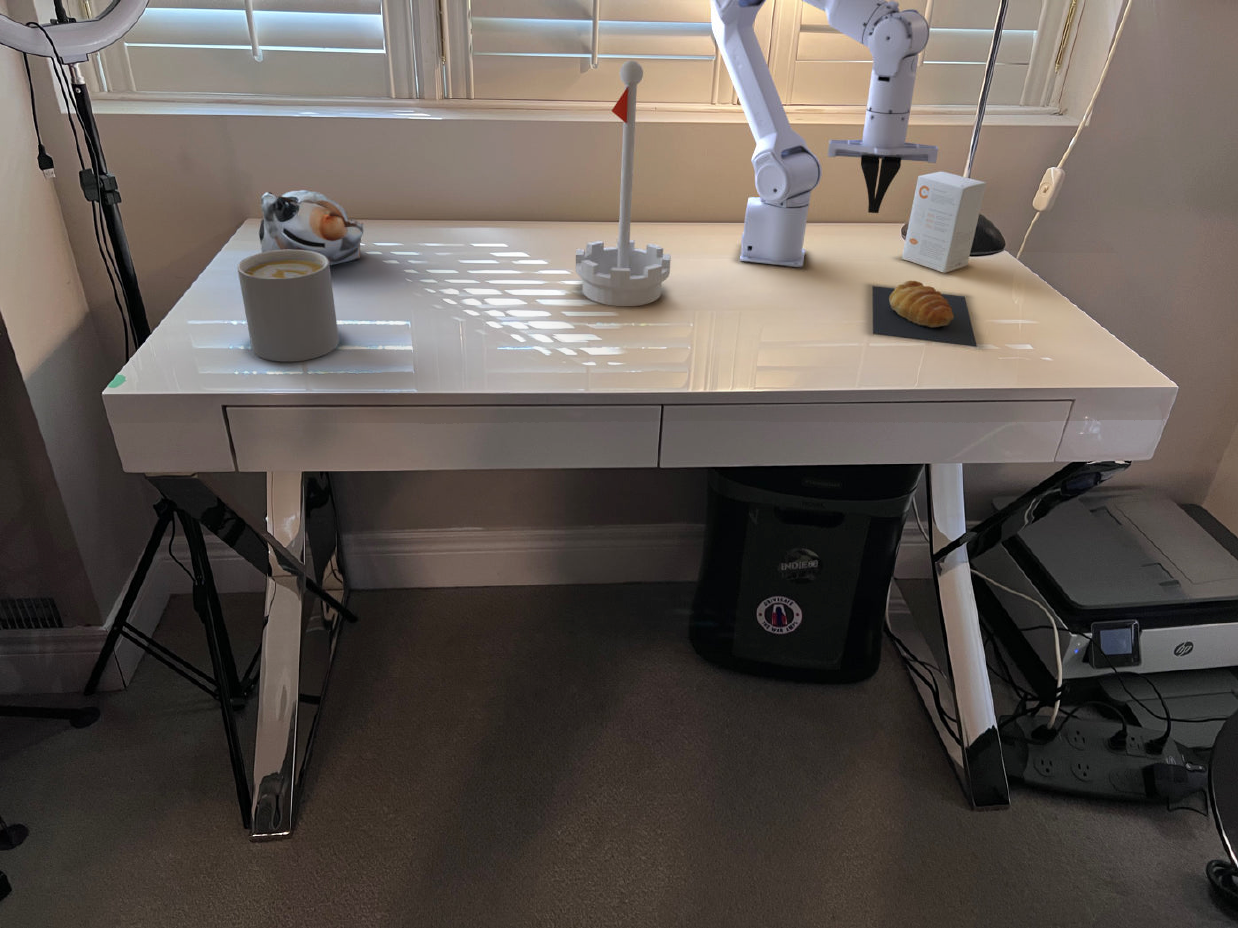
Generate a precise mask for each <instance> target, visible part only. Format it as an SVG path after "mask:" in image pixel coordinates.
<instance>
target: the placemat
mask: <svg viewBox="0 0 1238 928" xmlns="http://www.w3.org/2000/svg"><path fill="white" fill-rule="evenodd" d="M895 289H896V288H895V287H885V286H877V285H876V286H875V285H872V335H877V336H878V335H879V336H887V337H895V338H901V339H903V338H904V339H912V340H919V341H927V342H935V343H944V344H951V345H952V344H953V345H959V346H967V347H978V345H977V342H976V341H977V340H976V337H975V333H974V329H973V325H972V321H971V317H970V312H969V307H968V304H967V300H966V296H965V295H953V294H945V293H941V294H942V296H943V297H944V299H946V300H947V301H948V305H950V306H951V311H952V313H953V316H954V317H953V319H952V320H951V322H950V323H949V324H948V325H945V326H938V327H933V328H932V327H929V326H926V325H923V326H922V325H918V324H916V323H913V322H912V321H909V320H908V319H906V318H905V317H904V318H903V317H902V316H900V315H899V314H897V312H896V311H895V310H892V307H891V304H890V301H889V297H890V295H891V294H892V292H893V291H894V290H895Z"/></svg>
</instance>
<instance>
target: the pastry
mask: <svg viewBox="0 0 1238 928" xmlns="http://www.w3.org/2000/svg"><path fill="white" fill-rule="evenodd" d="M942 294H943V293H942V292H940V291H938V290H936V289H935V287H933V286H931V285H924V284H923V283H922V282H920V281H917V280H907V281H904V283H902V284H899V285H898V286H897V287H896V288H895V290H894V291H893V292H892V294H891V295H890V297H889V301H890V304H891V307H892V310H895V311H896V312H897V314H899V315H900V316H902V317H903V318H904V317H905V318H906V319H908V320H909V321H912V322H913V323H916V324H918V325H922V326H923V325H926V326H929V327H932V328H933V327H938V326H945V325H948V324H949V323H950V322H951V320H952V319H953V317H954V316H953V313H952V311H951V306H950V305H948V301H947V300H946V299H944V297H943V296H942Z"/></svg>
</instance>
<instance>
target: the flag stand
mask: <svg viewBox="0 0 1238 928" xmlns="http://www.w3.org/2000/svg"><path fill="white" fill-rule="evenodd" d="M619 78H620V80H621V82H622V83H623V84H624V91H623V93H622V94H621V96H620V97H619V98H618V100H617V102H616V103H615V105H614V106H613V107H612V109H611V112H612V113H613V114H614V115H615V116H616V117H618V118H619V119H620V120H621V121H622V122H623V123H622V147H621V166H620V167H621V171H620V173H621V174H620V193H619V196H620V197H619V221H618V238H617V239H616V246H606V247H605V246H604V244H605V242H603V241H602V240H595V241H594V240H593V241H590V242H587V243H586V244H585V249H583V248H576V251H575V273H576V275H578V277H580V278H581V279H582V293H583V295H584V296H585V297H586V298H587V299H590V300H591V301H593V302H596V303H599V304H603V305H606V306H607V305H608V306H613V307H614V306H615V307H636V306H643V305H648V304H650V303H654V302H655V301H657V300H658V299H659V298H660V296H661V295H662V283H663V282H665V281H666V280H667V279H668V278H669V277H670V274H671V273H670V272H671V262H672V261H671V260H672V256H671V254H670V253H664V247H662V246H660V245H657V244H654V243H649V244H646V247H645V248H646V249H643V248H636V246H635V243H636V242H635V241H636V240H635V239H631V222H632V221H631V220H632V199H633V198H632V197H633V179H634V177H633V175H634V156H635V133H636V113H637V112H636V111H637V93H638V91H637V90H638V84H640V82H642V80H643V78H644V70H643V66H642V65H641V64H640V63H639V62H638V61H636V60H627V61H625V62H624V63H623V64H622V65H621V67H620V69H619Z"/></svg>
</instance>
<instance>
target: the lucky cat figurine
mask: <svg viewBox="0 0 1238 928" xmlns="http://www.w3.org/2000/svg"><path fill="white" fill-rule="evenodd" d="M260 210H261V211H262V216H263V218H262V219H261V221H260V225H259V231H258V235H259V236H258V237H259V242H260V246H261V253H263V252H268V251H275V250H289V249H290V250H306V251H313V252H316V253H320V254H322V255H324V256H325V257H326V258H327V259H328V261H329V266H334V265H338V264H342V263H346V262H349V261H354V260H355V261H356V260H359V259H360V258H361V242H362V237H363V235H364V223H360V222H359V221H358V220H357V219H349V217H348V213H347V211H346V210H345V208H344V207H343V206H342V205H341V204H339V203H338V202H337V201H335V200H333V199H329V198H328V196H326V195H324V194H322V193H320V192H318V191H309V190H306V189H303V190H302V189H301V190H292V191H290V190H289V191H287V192H285V193H283V194H282V195H279V196H276V195H274V194H273V192H272V191H267V192H265V193H264V194H263V195H261V196H260Z"/></svg>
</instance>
